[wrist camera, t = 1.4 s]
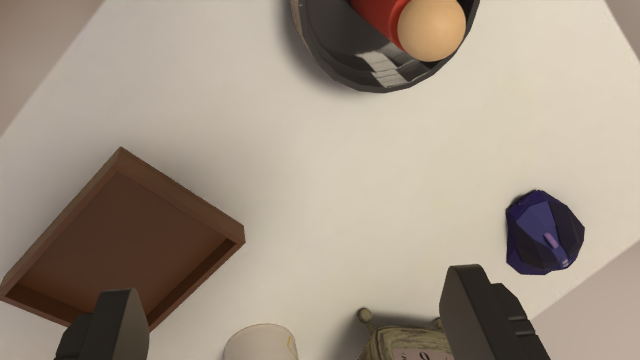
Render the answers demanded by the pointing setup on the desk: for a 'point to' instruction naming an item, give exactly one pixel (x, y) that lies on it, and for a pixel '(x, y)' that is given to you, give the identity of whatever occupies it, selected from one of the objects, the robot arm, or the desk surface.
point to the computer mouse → (542, 235)
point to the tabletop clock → (404, 342)
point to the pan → (362, 46)
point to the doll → (417, 25)
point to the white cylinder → (261, 344)
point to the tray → (123, 246)
